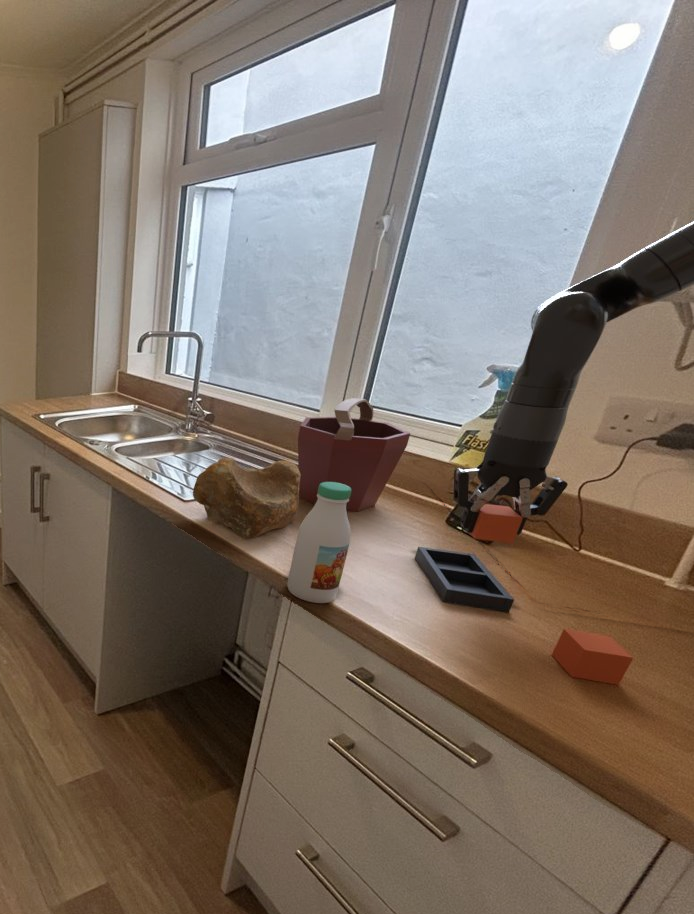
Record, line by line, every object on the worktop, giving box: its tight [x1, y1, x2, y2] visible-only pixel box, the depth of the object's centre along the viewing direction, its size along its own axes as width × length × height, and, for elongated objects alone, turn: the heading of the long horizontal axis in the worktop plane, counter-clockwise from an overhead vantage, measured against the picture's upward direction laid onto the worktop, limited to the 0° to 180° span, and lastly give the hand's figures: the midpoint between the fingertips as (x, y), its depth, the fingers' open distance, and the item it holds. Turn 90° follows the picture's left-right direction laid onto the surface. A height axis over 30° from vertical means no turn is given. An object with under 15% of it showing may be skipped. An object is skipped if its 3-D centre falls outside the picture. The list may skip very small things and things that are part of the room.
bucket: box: [297, 397, 411, 513], centre depth 129 cm, size 24×22×25 cm
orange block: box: [551, 628, 634, 686], centre depth 72 cm, size 5×5×4 cm
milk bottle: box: [286, 482, 352, 604], centre depth 88 cm, size 8×8×20 cm
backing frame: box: [414, 546, 515, 613], centre depth 94 cm, size 9×17×2 cm, turn 159°
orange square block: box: [468, 503, 523, 544], centre depth 86 cm, size 5×5×4 cm
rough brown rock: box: [192, 456, 301, 540], centre depth 114 cm, size 23×17×15 cm
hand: (488, 532), depth 87 cm, fingers closed on orange square block, 5 cm apart
